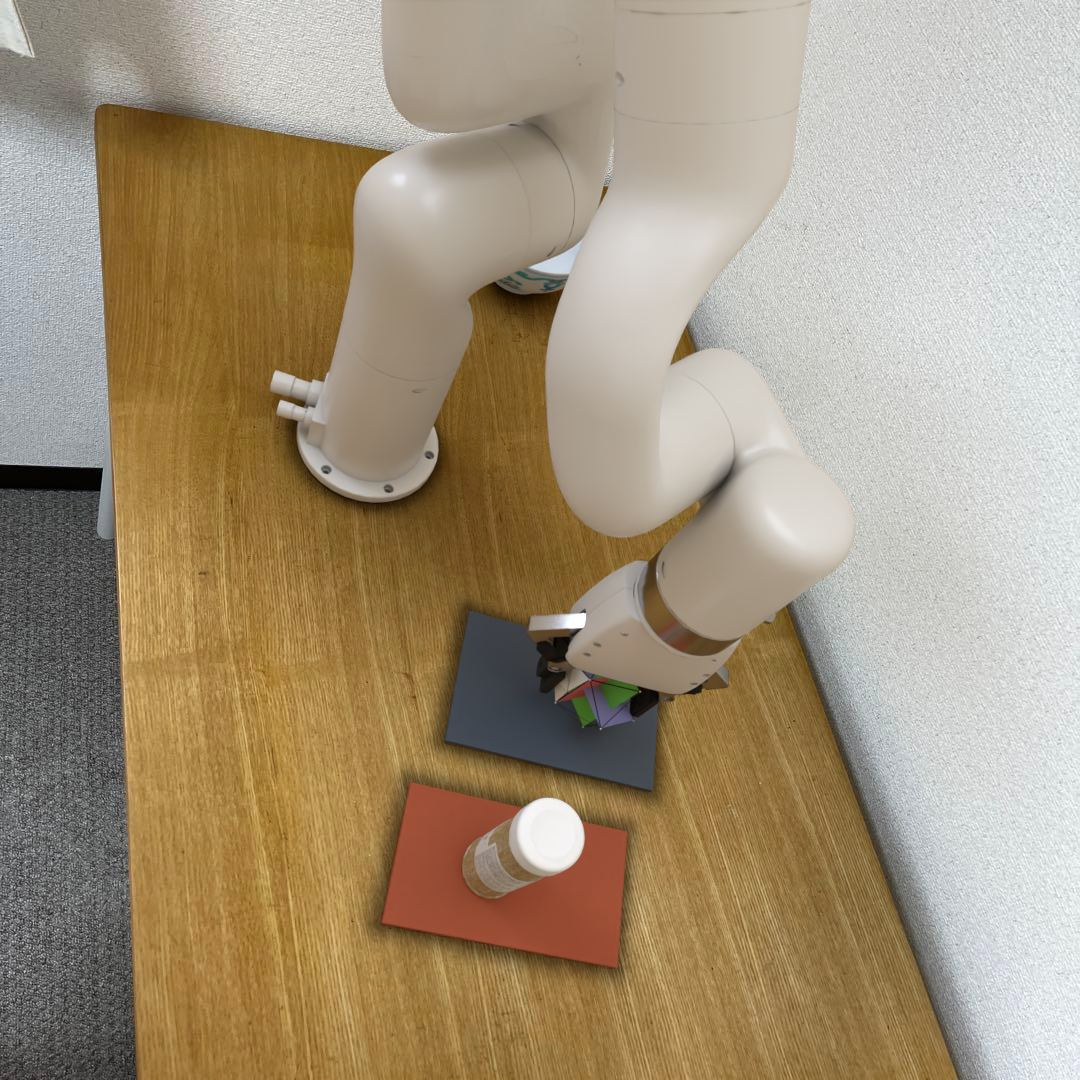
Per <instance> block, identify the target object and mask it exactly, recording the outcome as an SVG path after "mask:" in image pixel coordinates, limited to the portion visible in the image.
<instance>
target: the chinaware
mask: <svg viewBox="0 0 1080 1080" xmlns="http://www.w3.org/2000/svg"><path fill="white" fill-rule="evenodd" d="M583 239H584V237H583ZM583 239H582V240H581V241H580V242H579V243H578V244H576V245H575V246H574V247H573V248H571V249H569V250H568V251H566V252H564V253H562V254H560V255H558V256H556V257H553V258H551V259H549V260H546V261H543V262H541V263H538V264H536V265H533V266H530V267H528V268H525V269H523V270H520V271H517V272H515V273H513V274H511V275H509V276H507V277H505V278H502V279H500V280H497V281H494V283H496V284H497V286H499V287H501V288H502V289H503V290H506V291H508V292H510V293H513V294H519V295H531V294H548V293H553V292H557V291H560V290H564V287H565V285H566V282H567V279H568V277H569V274H570V271H571V269H572V266H573V263H574V260H575V258H576V255H577V253H578V251H579V248H580V246H581V243H582V241H583Z"/></svg>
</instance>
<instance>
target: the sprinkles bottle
mask: <svg viewBox="0 0 1080 1080" xmlns="http://www.w3.org/2000/svg"><path fill="white" fill-rule="evenodd" d="M581 821H582V820H581V818H580V816H579V815H578V812H576V810H575V809H574V808H573V807H572V806H571V804H569V803H567V802H566V801H563V800H561V799H558V798H554V797H541V798H538V799H535V800H533V801H531V802H529V803H528V804H527V805H525V806H523V807H522V809H521V810H520V811H519V812H518V813H517V814H516V816H515V817H513V818H512V819H509V820H507V821H506V822H504V823H502V824H501V825H499V826H498V827H496V828H495V829H493V830H491V831H490V832H488V833H487V834H486V835H484V836H482V837H480V838H478V839H476V840H475V841H474V842H472V843H471V844H470V845H469V847H468V848H467V850H466V852H465V854H464V857H463V862H462V873H463V877H464V879H465V882H466V884H467V885H468V887H469V888H470V890H472V891H473V892H474V893H475V894H476V895H478V896H480V897H483V898H487V899H496V898H500V897H502V896H504V895H506V894H507V893H509V892H511V891H514V890H516V889H519V888H521V887H523V886H526V885H528V884H530V883H533V882H535V881H537V880H540V879H541V878H543V877H544V876H552V875H556V874H558V873H560V872H562V871H564V870H566V869H568V868H569V867H571V866H572V865H573V864H574V863H575V862H576V861H577V860H578V858H579V857H580V855H581V853H582V850H583V847H584V839H585V837H584V828H583V825H582V822H581Z"/></svg>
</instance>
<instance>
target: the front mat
mask: <svg viewBox="0 0 1080 1080" xmlns="http://www.w3.org/2000/svg"><path fill="white" fill-rule="evenodd" d="M522 808H523V807H522V806H517V805H513V804H509V803H504V802H499V801H495V800H492V799H487V798H482V797H478V796H473V795H469V794H465V793H460V792H456V791H453V790H452V791H451V790H447V789H442V788H438V787H434V786H430V785H426V784H422V783H417V782H410V783H409V784H408V789H407V795H406V798H405V803H404V809H403V812H402V813H403V814H402V819H401V822H400V829H399V834H398V838H397V843H396V848H395V852H394V856H393V863H392V866H391V871H390V877H389V882H388V887H387V891H386V896H385V901H384V906H383V911H382V916H381V920H380V924H381V925H385V926H390V927H394V928H400V929H406V930H410V931H416V932H422V933H426V934H431V935H437V936H443V937H447V938H453V939H458V940H463V941H468V942H473V943H478V944H484V945H488V946H489V945H490V946H495V947H500V948H504V949H505V948H506V949H510V950H516V951H521V952H526V953H532V954H536V955H542V956H546V957H553V958H557V959H563V960H567V961H568V960H569V961H573V962H577V963H578V962H579V963H583V964H584V963H585V964H590V965H594V966H600V967H604V968H611V969H617V968H618V966H619V955H620V954H619V953H620V952H619V951H620V941H621V940H620V939H621V927H622V926H621V925H622V913H623V912H622V911H623V898H624V884H625V874H626V873H625V871H626V860H627V859H626V857H627V845H628V844H627V843H628V831H626V830H621V829H617V828H612V827H609V826H604V825H601V824H600V825H599V824H595V823H590V822H587V821H582V820H581V822H582V825H583V828H584V837H585V839H584V847H583V850H582V853H581V855H580V857H579V858H578V860H577V861H576V862H575V863H574V864H573V865H572V866H571V867H569V868H568V869H566V870H564V871H562V872H560V873H558V874H556V875H552V876H544V877H543V878H541V879H540V880H537V881H535V882H533V883H530V884H528V885H526V886H523V887H521V888H519V889H516V890H514V891H511V892H509V893H507V894H506V895H504V896H502V897H500V898H496V899H487V898H483V897H480V896H478V895H476V894H475V893H474V892H473V891H472V890H470V888H469V887H468V885H467V884H466V882H465V879H464V877H463V873H462V862H463V857H464V854H465V852H466V850H467V848H468V847H469V845H470V844H471V843H472V842H474V841H475V840H476V839H478V838H480V837H482V836H484V835H486V834H487V833H488V832H490V831H491V830H493V829H495V828H496V827H498V826H499V825H501V824H502V823H504V822H506V821H507V820H509V819H512V818H513V817H515V816H516V814H517V813H518V812H519V811H520V810H521V809H522Z"/></svg>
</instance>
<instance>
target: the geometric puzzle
mask: <svg viewBox="0 0 1080 1080" xmlns="http://www.w3.org/2000/svg"><path fill="white" fill-rule="evenodd" d="M640 688H641V687H640ZM554 689H555V704H558V703H557V702H560V701H565V700H570V699H571V701H572V703H573V705H574V707H575V710H576V712H577V714H578V715H577V716H578V717H579V719H580V721H581V724H582V727H583V728H584V727H586V726H585V725H587V724H588V723H590V722H592V721H593V720H595V719H597V722H598V724H596V725H599V726H600V730H601V729H603V728H607V727H611V726H615V725H618V724H622V723H626V722H630V721H633V722H634V719H633V718H632V716H631V714H630V712H629V709H628V707H627V704H628V703H629V702H630V701H631V700H632V699H633V698H634V697H635V696H636V695H637V694H638V693H639V694H640V693H641V691H640V690H639V688H638V686H636V685H632V684H629V683H625V682H621V681H618V680H614V679H610V678H607V677H603V676H599V675H596V674H592V673H589V672H586V671H583V670H580V669H577V668H575V669H571V670H567V671H566V675H565V678H564V679H563V680H562V681H561V682H560V683H559V684H558V685H557V686H556V687H555V688H554ZM567 692H568V694H566V693H567ZM565 694H566V695H565ZM635 694H636V695H635ZM564 695H565V696H564ZM634 695H635V696H634ZM562 696H563V697H562ZM632 696H634V697H633V698H632V699H631V700H630V701H629V702H628V703H627V704H626V703H625V701H626V700H627V699H629V698H631V697H632ZM561 697H562V698H561ZM638 699H639V697H638ZM637 703H638V701H637ZM558 705H559V704H558ZM560 706H561V705H560ZM562 707H563V706H562ZM636 708H637V706H636ZM562 709H563V708H562ZM565 709H566V708H565ZM563 710H564V709H563ZM567 710H568V709H567ZM564 711H565V710H564ZM569 711H570V710H569ZM570 712H571V711H570ZM635 712H636V710H635ZM572 713H573V712H572ZM574 714H575V713H574ZM569 715H570V714H569ZM570 716H571V715H570ZM571 717H572V716H571ZM634 717H635V715H634ZM577 722H578V721H577ZM578 723H579V722H578ZM579 724H580V723H579ZM591 724H592V723H591ZM588 726H594V724H593V725H588ZM596 727H597V726H596ZM589 728H591V727H589ZM597 729H599V727H598V728H597Z"/></svg>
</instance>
